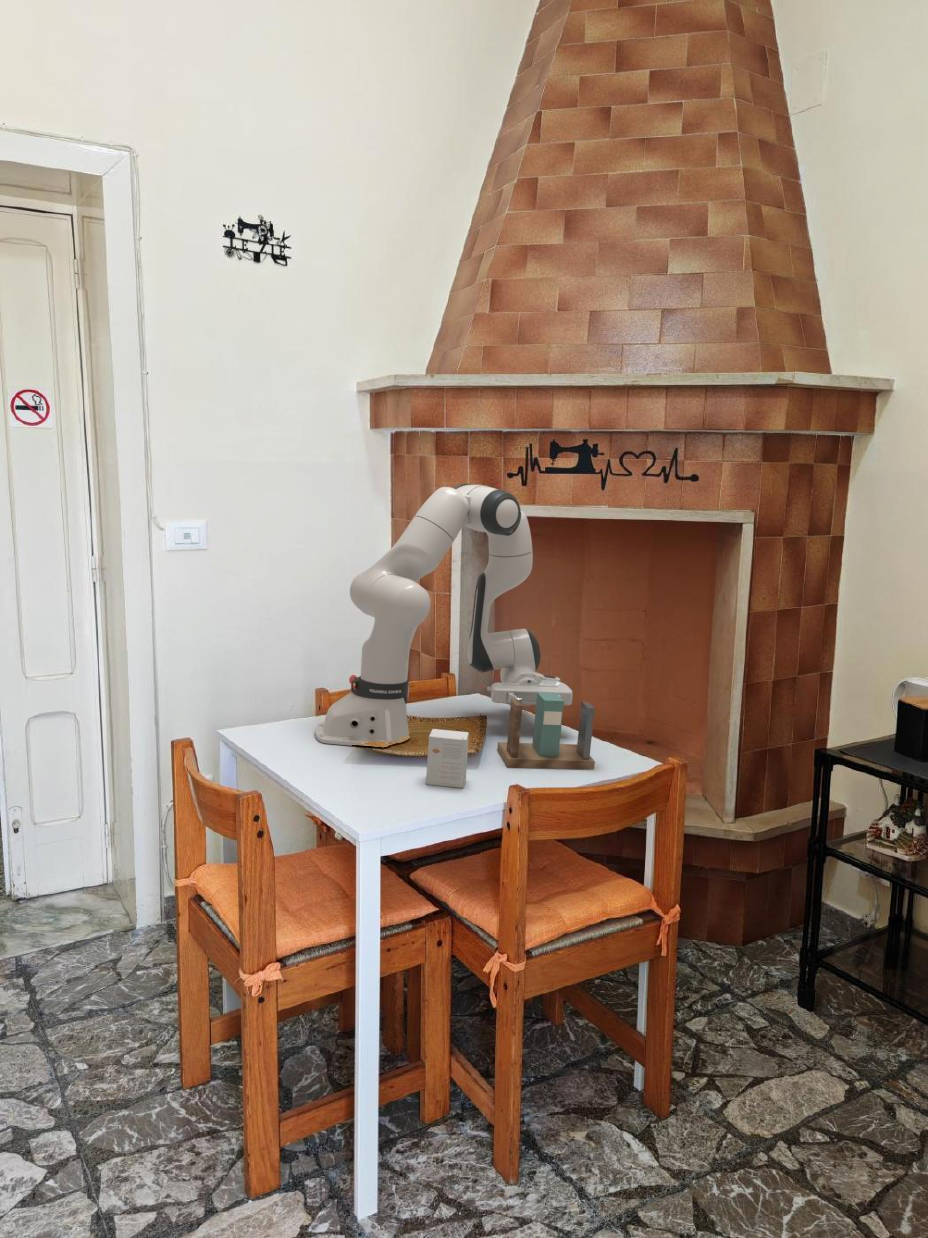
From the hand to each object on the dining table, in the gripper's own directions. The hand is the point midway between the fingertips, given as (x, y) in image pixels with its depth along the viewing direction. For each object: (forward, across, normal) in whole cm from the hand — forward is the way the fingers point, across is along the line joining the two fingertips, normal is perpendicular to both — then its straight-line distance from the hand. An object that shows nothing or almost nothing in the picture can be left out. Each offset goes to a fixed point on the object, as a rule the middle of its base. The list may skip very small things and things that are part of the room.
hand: (537, 702), depth 222 cm
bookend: (+14, +8, +8) cm, 18 cm away
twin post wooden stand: (+12, 0, +10) cm, 16 cm away
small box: (+28, -25, +10) cm, 39 cm away
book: (+12, 0, +8) cm, 14 cm away
